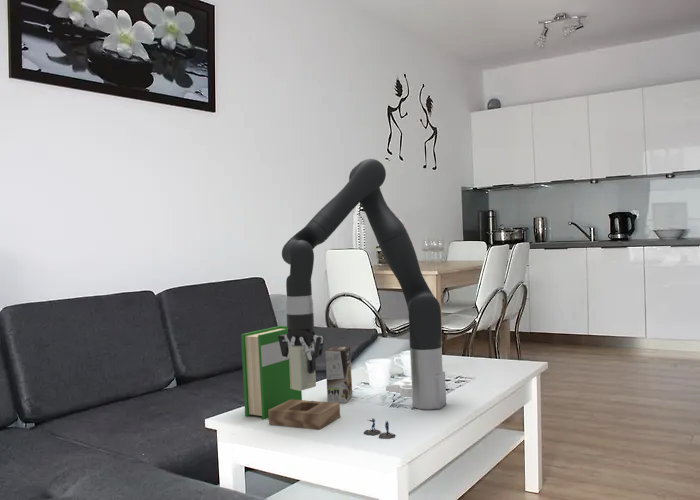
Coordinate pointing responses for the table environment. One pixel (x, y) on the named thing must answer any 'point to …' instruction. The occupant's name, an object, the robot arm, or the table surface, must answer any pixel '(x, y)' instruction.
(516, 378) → the table surface
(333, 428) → the table surface
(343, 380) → the coffee box
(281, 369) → the hardback book
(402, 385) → the white brass knuckles
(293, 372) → the skincare box
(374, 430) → the figurines
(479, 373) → the table surface
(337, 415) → the walnut holder block
